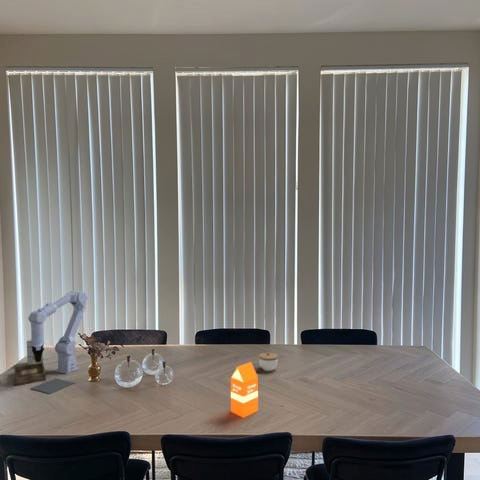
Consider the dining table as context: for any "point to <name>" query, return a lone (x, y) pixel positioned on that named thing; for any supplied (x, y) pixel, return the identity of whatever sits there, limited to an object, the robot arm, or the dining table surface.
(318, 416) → the dining table surface
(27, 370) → the walnut crate
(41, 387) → the rubber mat
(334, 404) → the dining table surface
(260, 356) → the lidded jar
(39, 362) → the birch block
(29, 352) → the syrup box
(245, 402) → the orange juice
